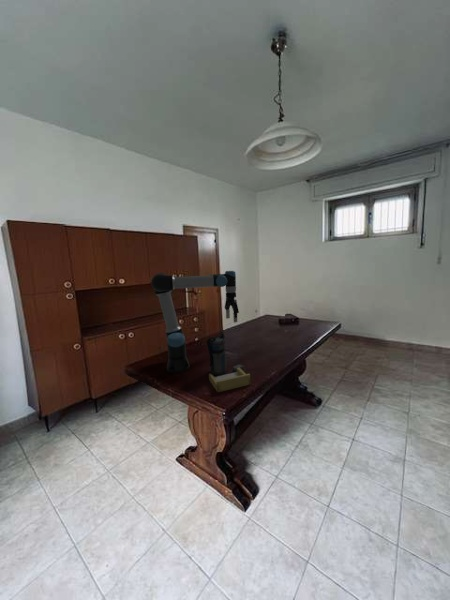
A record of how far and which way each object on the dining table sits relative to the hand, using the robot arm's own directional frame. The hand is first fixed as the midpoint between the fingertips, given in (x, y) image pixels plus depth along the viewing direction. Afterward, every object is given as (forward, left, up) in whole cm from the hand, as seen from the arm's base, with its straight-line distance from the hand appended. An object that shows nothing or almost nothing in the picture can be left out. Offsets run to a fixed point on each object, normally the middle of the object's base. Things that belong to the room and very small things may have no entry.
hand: (231, 320), depth 185 cm
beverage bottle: (-21, -25, -27) cm, 42 cm away
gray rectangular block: (-8, -28, -27) cm, 39 cm away
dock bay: (-19, -39, -26) cm, 51 cm away
